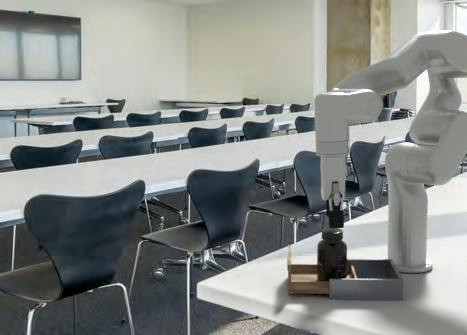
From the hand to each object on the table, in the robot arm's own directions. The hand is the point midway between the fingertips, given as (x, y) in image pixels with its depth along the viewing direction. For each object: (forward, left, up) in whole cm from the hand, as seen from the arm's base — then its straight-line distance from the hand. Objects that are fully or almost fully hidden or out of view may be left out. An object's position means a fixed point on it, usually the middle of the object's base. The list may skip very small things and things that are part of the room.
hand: (334, 221), depth 134 cm
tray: (+1, -3, -15) cm, 15 cm away
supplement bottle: (0, -1, -14) cm, 14 cm away
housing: (+1, +6, -16) cm, 17 cm away
